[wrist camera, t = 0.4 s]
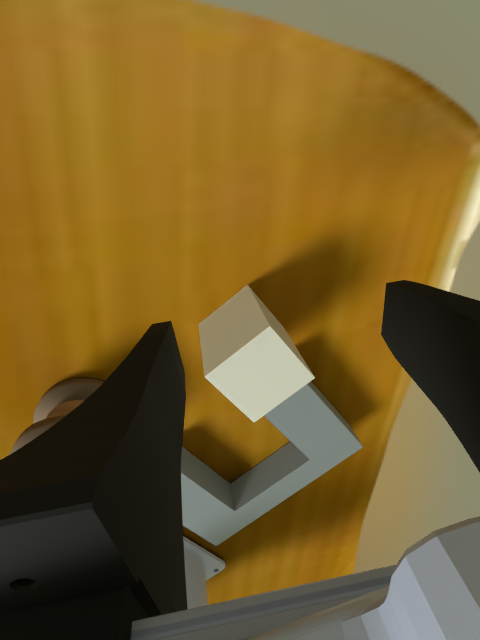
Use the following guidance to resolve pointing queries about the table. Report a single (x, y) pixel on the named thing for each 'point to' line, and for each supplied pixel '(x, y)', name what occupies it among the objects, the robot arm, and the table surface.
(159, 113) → the table surface
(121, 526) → the robot arm
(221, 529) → the notched board
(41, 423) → the brown knob
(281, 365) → the block
